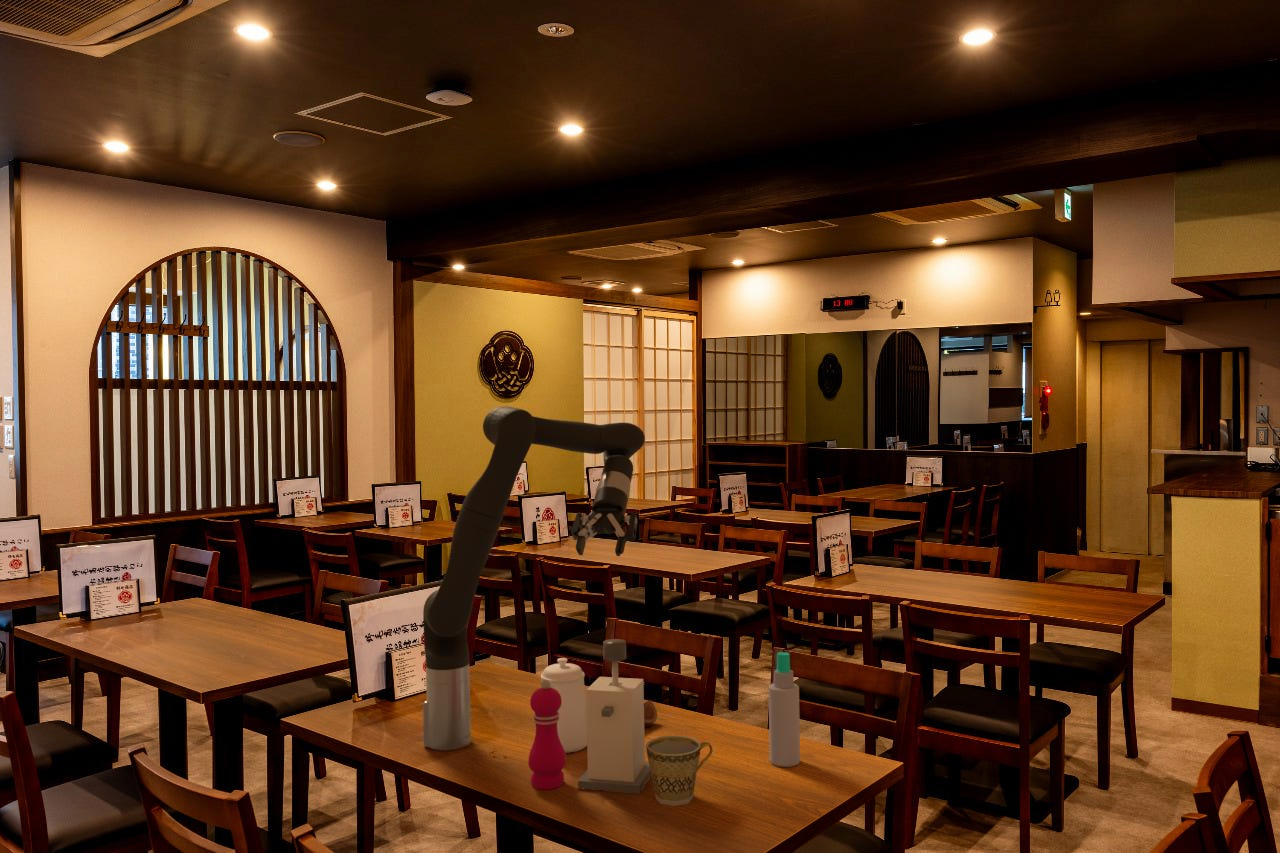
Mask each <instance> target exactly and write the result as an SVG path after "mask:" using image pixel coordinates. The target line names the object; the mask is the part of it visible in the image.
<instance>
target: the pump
mask: <svg viewBox="0 0 1280 853" xmlns="http://www.w3.org/2000/svg"><path fill="white" fill-rule="evenodd" d="M602 648H603V650H602V651H603V652H602V654H603V660H604V661H607V662H611V677H612V686H618V678H619V662H620V661H621V662H622V661H625V660H626V659H627V641H626V640H625V639H622V638H621V639H620V638H611V639H605V640H604V641H603V642H602Z"/></svg>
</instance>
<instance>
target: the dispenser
mask: <svg viewBox="0 0 1280 853" xmlns="http://www.w3.org/2000/svg"><path fill="white" fill-rule="evenodd" d="M644 688H645V686H644V678H633V677H632V678H628V677H618V686H612V676H609V677H608V676H599V677H598V678H597V679H596V680H595V681H594V682H592V684H591V685H589V686H588V688H587V689H586V690H585V698H586V708H587V746H586V748H587V769H586V770H585V772H584V773H583V774H582V775H581V777H580V778H579V779H578V781H577V788H581V789H580V790H587V789H595V790H594V791H599V790H604V791H603V792H613V793H623V794H624V793H625V794H637V795H638V794H639V795H640V794H641V792H642V790H643V789H644V787H645V786H646V784H647V783H648V782H649V780H650V778H651V777H652V776H651V770H650V766H649V761H646V751H645V750H646V749H645V747H646V746H645V745H646V744H645V727H644V703H645V699H644V698H645V697H644ZM649 777H650V778H649ZM646 782H647V783H646ZM582 788H584V789H582Z"/></svg>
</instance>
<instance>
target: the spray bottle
mask: <svg viewBox="0 0 1280 853" xmlns="http://www.w3.org/2000/svg"><path fill="white" fill-rule="evenodd" d="M790 658H791V657H790V653H789V652H785V651H782V652H781V651H780V652H777V653H776V669H775V670H773V682H772V683H771V684H769V685H768V717H769V718H768V723H769V725H768V728H769V729H768V730H769V733H768V734H769V761H770V763H771V764H773V766H776V767H782V768H791V767H795V766H797V765H799V763H800V762H801V740H800V739H801V738H800V737H801V733H800V731H801V730H800V728H801V727H800V726H801V725H800V724H801V723H800V686H799V685H798V684H796V683H794V682H795V681H794V679H795V678H794V670H791V664H790V662H791V661H790Z"/></svg>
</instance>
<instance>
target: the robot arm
mask: <svg viewBox="0 0 1280 853" xmlns="http://www.w3.org/2000/svg"><path fill="white" fill-rule="evenodd" d="M482 430H483V434H484V436H485V438H486V440H488V441H489V442H490V443H491V444H492V445H494V447H493V450H492V453H491V456H490V460H489V462H488V464H487V466H486V468H485V470H484V471H483V473H482V475H480V477H479V478H478V479H477V481H476V482H475V483H474V484H473V486H472V487H471V488H470V490H469V491H468V492H467V494H466V496H465V498H464V499H463V502H462V504H461V508H460V509H459V513H458V516H457V517H456V518H457V519H456V522H455V523H454V528H453V531H452V532H453V533H452V537H451V543H450V551H449V558H448V562H447V563H448V564H447V567H446V571H445V572H444V576H443V578H442V581H441V583H440V585H439V587H438V589H437V590H435V591H433V592H431V594H430V595H428V597H427V598H426V600H425V602H424V604H423V610H422V611H423V612H422V613H423V615H422V617H423V645H424V647H423V648H424V655H425V680H426V684H425V685H426V686H425V687H426V700H424V701H423V702H422V715H423V716H422V720H423V721H422V723H423V726H422V727H423V746H424V747H427V748H430V749H432V750H435V751H452V750H454V751H455V750H459V749H463V748H465V747H467V746H469V745H470V744H471V742H472V734H471V733H472V730H471V729H472V727H471V722H472V721H471V690H470V688H471V684H470V682H471V681H470V652H469V651H470V650H469V646H468V637H467V634H468V633H467V625H468V624H469V622H470V618H471V614H472V610H473V604H474V602H475V601H474V600H475V596H476V592H477V589H478V584H479V581H480V578H481V575H482V572H483V570H484V568H485V565H486V563H487V561H488V559H489V556H490V553H491V551H492V548H493V546H494V543H495V541H496V538H497V535H498V533H499V530H500V527H501V524H502V520H503V518H504V515H505V510H506V509H507V508H506V507H507V505H508V503H509V500H510V497H511V494H512V491H513V489H514V486H515V483H516V479H517V476H518V474H519V472H520V469H521V468H522V465H523V463H524V461H525V459H526V457H527V455H528V452H529V450H530V448H531V446H532V445H536V446H537V445H539V446H544V447H545V446H546V447H551V448H553V449H554V448H555V449H558V450H563V451H564V450H565V451H568V452H569V451H570V452H575V453H583V454H589V455H590V454H591V455H599V454H603V457H602V458H603V469H602V472H601V475H600V479H599V481H598V484H597V487H596V490H595V491H596V492H595V494H594V495H595V496H594V500H593V503H592V508H591V512H590V513H589V514H588V515H586V514H582V512H581V511H580V512H577V513H576V516H575V519H574V521H573V524H572V527H571V529H570V533H571V535H572V536H571V537H572V538H573V540H575V541H576V544H575V550H576V552H577V553H578V556H584V551H585V547H586V543H587V542H586V541H587V540H589V538H593V537H594V536H596V535H597V534H598V535H599V534H600V535H602V534H607V535H612V534H613V533H614V534H615V535H616V536H617V538H616V539H617V540H616V545H615V549H614V552H615V555H616V557H621V555H622V554H624V551H625V546H626V544H627V542H628V541H631V542H634V541H635V540H636V536H637V528H638V518H637V515H636V512H632V513H630V514H629V515H626V512H627V506H628V501H629V499H630V492H631V483H632V478H633V475H634V474H633V473H634V464H633V462H632V460H631V458H632V456H634V455H635V454H636V453H637V452H638V451H639V450H640V449H641V448H642V447H643V446H644V444H645V440H646V437H645V434H644V431H643V430H642V428H640V427H639V426H638V425H636V424H633V423H631V422H614V423H611V422H610V423H605V424H596V423H589V422H582V421H573V420H560V419H552V418H544V417H539V416H538V417H537V416H534V415H532V414H531V413H530V412H529V411H527V410H525V409H522V408H518V407H511V406H503V405H502V406H498V407H496V408H493V409H491V410H490V411H489V412H488V413H487V414H486V415H485V417H484V420H483V423H482ZM625 523H627V526H628V527H627V532H626V531H625V532H624V531H623V528H622V526H623V525H624V524H625ZM583 526H584V527H583Z"/></svg>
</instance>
